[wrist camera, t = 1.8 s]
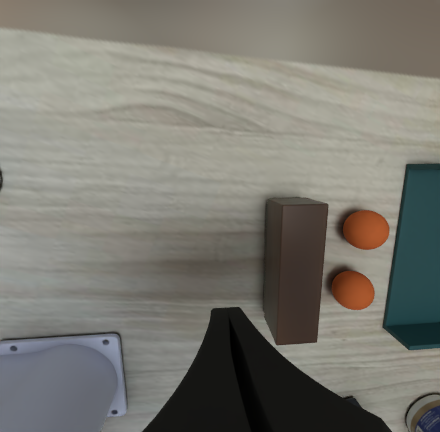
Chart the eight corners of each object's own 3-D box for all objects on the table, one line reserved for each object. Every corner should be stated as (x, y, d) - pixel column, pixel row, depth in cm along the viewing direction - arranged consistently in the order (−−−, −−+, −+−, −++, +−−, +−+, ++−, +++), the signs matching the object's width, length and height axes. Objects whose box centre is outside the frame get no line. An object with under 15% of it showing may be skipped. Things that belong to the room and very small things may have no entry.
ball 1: (333, 243, 20) (357, 256, 17) (337, 207, 19) (362, 215, 16) (367, 241, 20) (396, 254, 17) (372, 206, 19) (402, 213, 16)
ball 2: (323, 297, 21) (343, 319, 18) (326, 265, 20) (347, 282, 17) (355, 295, 21) (381, 317, 18) (359, 264, 20) (386, 280, 17)
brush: (261, 311, 20) (276, 346, 16) (264, 197, 18) (282, 204, 14) (295, 309, 21) (317, 343, 17) (301, 196, 19) (329, 203, 15)
